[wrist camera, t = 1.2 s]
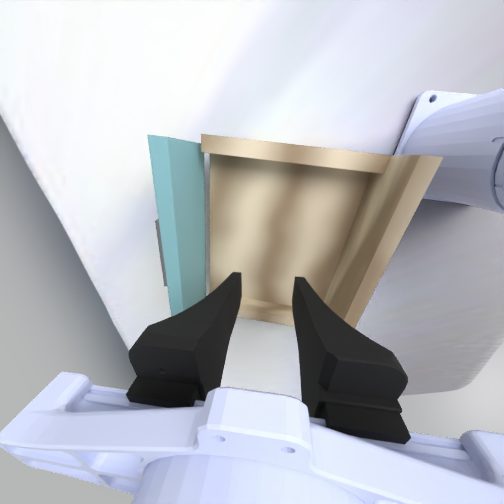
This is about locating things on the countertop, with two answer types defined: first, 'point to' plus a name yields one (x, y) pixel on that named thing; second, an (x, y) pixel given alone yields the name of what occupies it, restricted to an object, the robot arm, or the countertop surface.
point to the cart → (307, 221)
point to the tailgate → (180, 218)
